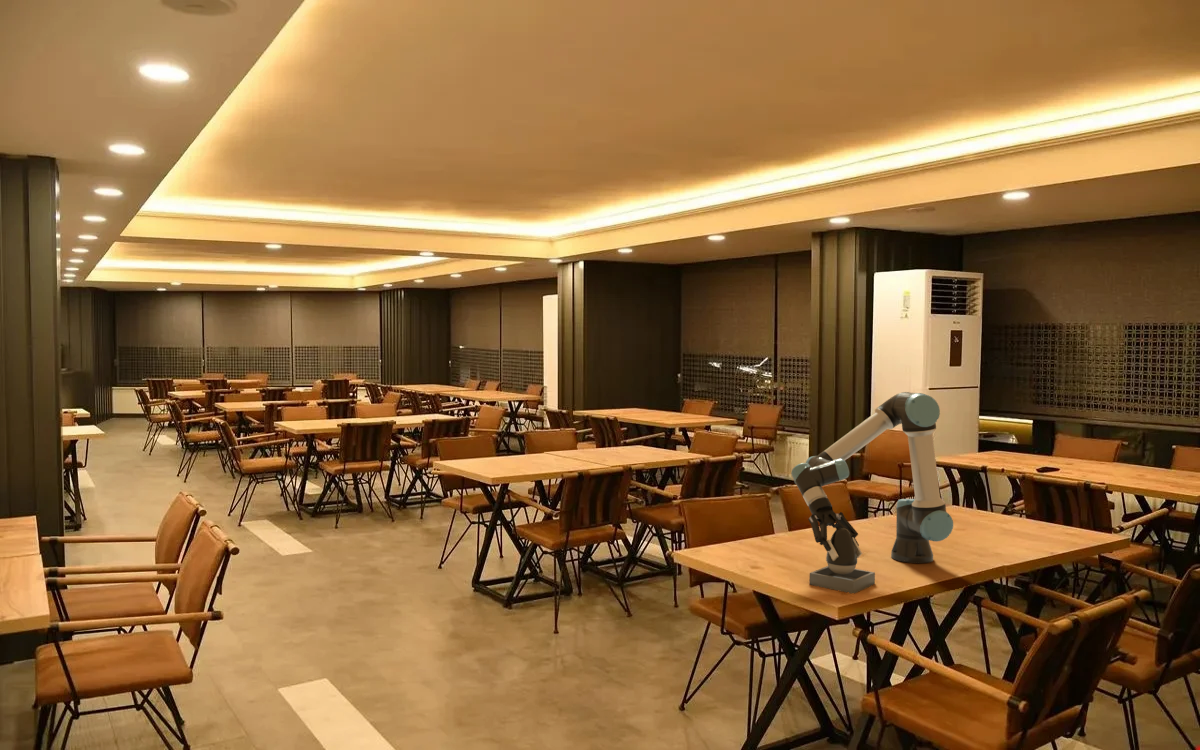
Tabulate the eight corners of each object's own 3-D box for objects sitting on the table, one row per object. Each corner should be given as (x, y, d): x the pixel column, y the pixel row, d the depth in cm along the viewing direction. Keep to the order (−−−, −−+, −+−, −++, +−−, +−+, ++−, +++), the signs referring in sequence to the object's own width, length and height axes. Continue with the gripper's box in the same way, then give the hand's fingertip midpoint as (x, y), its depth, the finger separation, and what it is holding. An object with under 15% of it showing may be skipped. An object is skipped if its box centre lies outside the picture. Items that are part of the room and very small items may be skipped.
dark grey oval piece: (851, 568, 295) (851, 524, 295) (861, 576, 285) (862, 531, 284) (822, 568, 295) (822, 524, 294) (831, 576, 284) (831, 531, 284)
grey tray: (831, 575, 301) (831, 564, 301) (874, 584, 290) (874, 572, 290) (809, 584, 289) (809, 572, 289) (853, 593, 278) (853, 581, 278)
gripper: (837, 506, 308) (867, 559, 294) (787, 510, 298) (816, 566, 284) (847, 494, 303) (878, 548, 289) (797, 498, 293) (826, 553, 279)
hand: (847, 557), depth 287 cm, fingers closed on dark grey oval piece, 9 cm apart
